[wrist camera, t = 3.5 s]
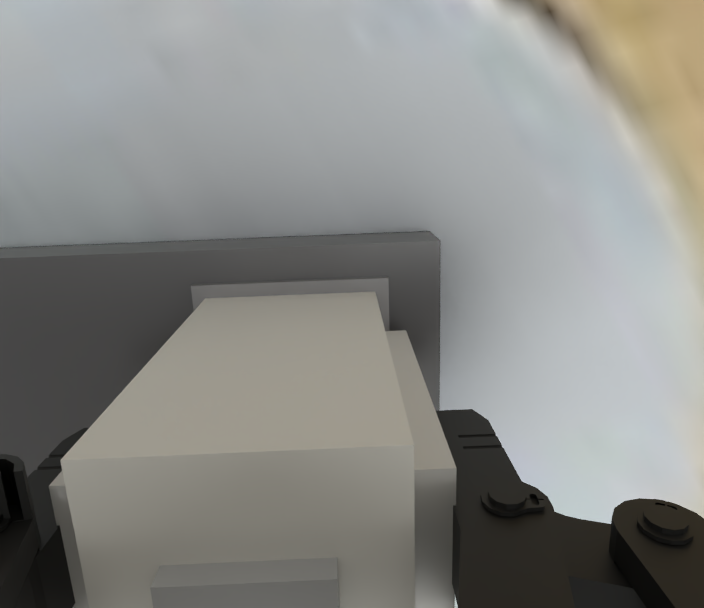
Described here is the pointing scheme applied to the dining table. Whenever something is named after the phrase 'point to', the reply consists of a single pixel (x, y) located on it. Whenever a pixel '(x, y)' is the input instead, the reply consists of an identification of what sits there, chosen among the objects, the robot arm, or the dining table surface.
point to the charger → (253, 465)
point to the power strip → (175, 312)
